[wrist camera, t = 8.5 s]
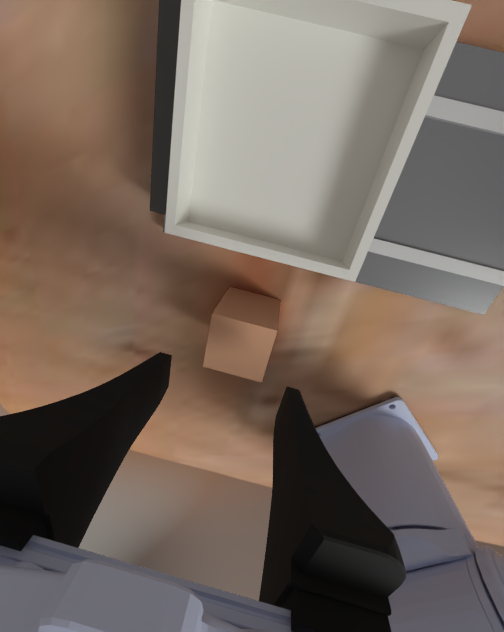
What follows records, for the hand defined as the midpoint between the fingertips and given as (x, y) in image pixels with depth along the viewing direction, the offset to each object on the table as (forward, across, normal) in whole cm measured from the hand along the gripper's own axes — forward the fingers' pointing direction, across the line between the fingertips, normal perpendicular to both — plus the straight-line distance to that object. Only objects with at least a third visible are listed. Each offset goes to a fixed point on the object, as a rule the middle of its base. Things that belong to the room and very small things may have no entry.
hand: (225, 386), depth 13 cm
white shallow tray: (+7, 0, -11) cm, 13 cm away
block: (+8, 0, 0) cm, 8 cm away
